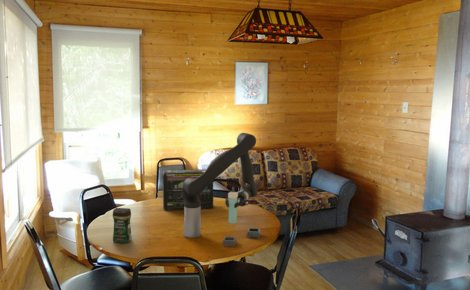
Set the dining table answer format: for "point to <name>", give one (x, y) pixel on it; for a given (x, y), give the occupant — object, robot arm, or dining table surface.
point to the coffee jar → (122, 225)
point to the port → (253, 233)
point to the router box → (175, 189)
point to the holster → (229, 241)
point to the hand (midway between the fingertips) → (231, 205)
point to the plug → (232, 206)
